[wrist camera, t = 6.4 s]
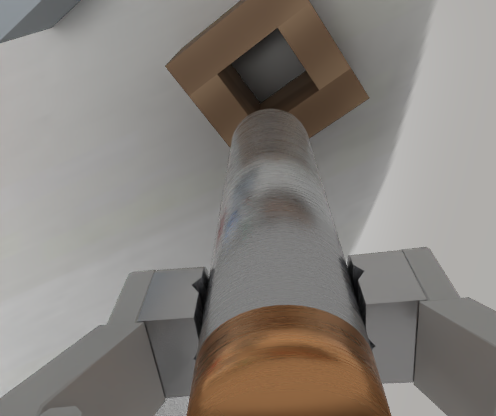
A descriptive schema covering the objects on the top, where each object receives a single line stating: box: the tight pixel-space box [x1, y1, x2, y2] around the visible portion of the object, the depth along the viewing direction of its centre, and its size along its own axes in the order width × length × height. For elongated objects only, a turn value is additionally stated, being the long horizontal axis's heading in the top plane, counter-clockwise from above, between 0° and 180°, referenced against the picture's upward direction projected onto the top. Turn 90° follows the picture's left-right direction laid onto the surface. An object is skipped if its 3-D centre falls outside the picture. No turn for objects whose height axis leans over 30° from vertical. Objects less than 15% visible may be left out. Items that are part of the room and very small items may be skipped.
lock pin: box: [187, 109, 391, 416], centre depth 11 cm, size 3×3×12 cm
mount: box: [165, 0, 369, 148], centre depth 28 cm, size 8×8×6 cm
